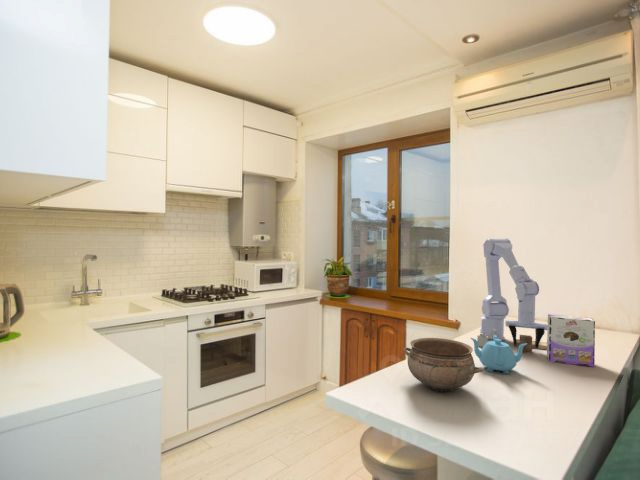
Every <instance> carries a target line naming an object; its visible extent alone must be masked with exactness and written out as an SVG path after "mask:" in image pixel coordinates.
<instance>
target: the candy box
mask: <svg viewBox="0 0 640 480" xmlns="http://www.w3.org/2000/svg"><path fill="white" fill-rule="evenodd" d="M547 325H548V330H546V331H547V332H546V333H547V334H546V335H547V336H546V341H547V350H546V358H547V361H548V362H551V363H560V364H567V365H575V366H584V367H592V368H594V367H595V361H596V360H595V359H596V358H595V349H596V347H595V345H596V343H595V340H596V337H595V336H596V320H595V319H594V318H593V317H587V316H586V317H585V316H584V317H583V316H575V315H573V316H572V315H565V314H564V315H563V314H550V313H549V314H547Z"/></svg>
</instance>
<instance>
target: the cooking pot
mask: <svg viewBox="0 0 640 480" xmlns="http://www.w3.org/2000/svg"><path fill="white" fill-rule="evenodd" d="M409 344H410V346H411V348H410V347H404V348H403V349H402V350H403V352H404V354H405V355H406V356H407V367H408V370H409V372H410V373H411V376H413V377H414V378H415V379H416V380H417V381H419V383H421V384H423V385H425V386H426V387H428V388H429V389H431V390H433V391H436V392H440V393H441V392H442V393H443V392H445V393H448V392H451V391H453V390H455V389H459V388H462V387H463V386H466V385H467V384H469V383H470V382H471V381H472V379H473V377H474V376H475V374H479V373H481V372H484V371H485V368H484V367H483V366H480V367H478V366H475V365H476V364H475V360H474V357H473V355H472V352H473V351H474V349H473V347H472V346H470V344H468V343H465V342H461V341H458V340H454V339H450V338H441V337H440V338H439V337H423V338H422V337H421V338H416V339H413V340H411V341H410V343H409Z"/></svg>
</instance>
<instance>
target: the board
mask: <svg viewBox="0 0 640 480" xmlns="http://www.w3.org/2000/svg"><path fill="white" fill-rule="evenodd" d="M519 342H520V338H519V339H517V338H516V346H515V347H517V348H519ZM513 344H514V342H513ZM532 349H537V350H544V351H545V350H546V351H547V342H546V341H540V342H539V345H538V348H536V347H535V340H532Z"/></svg>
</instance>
